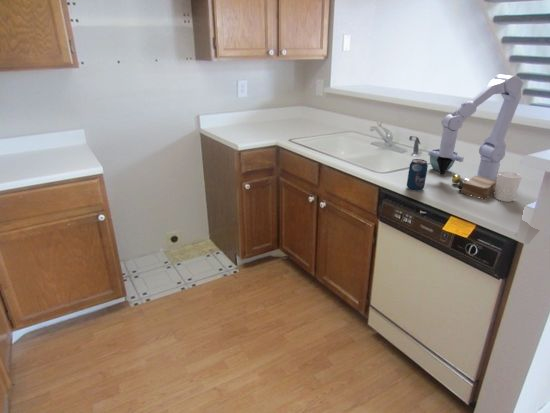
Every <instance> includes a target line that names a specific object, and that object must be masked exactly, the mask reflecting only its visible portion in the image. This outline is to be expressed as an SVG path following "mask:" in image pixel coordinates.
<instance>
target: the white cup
mask: <svg viewBox="0 0 550 413" xmlns="http://www.w3.org/2000/svg"><path fill="white" fill-rule="evenodd" d="M522 177H523V176H522V174H520V173H517V172H515V171H505V170H501V171H498V174H497V181H496V187H495V192H494V193H493V194H494V195H493V198H494V197H495V198H496V200H497V199H498V201H500V200H501V202H506V203H507V202H508V203H509V202H513V201H514V199H515V196H516V194H517V192H518V189H519V186H520V183H521V180H522ZM495 198H494V199H495Z"/></svg>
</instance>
